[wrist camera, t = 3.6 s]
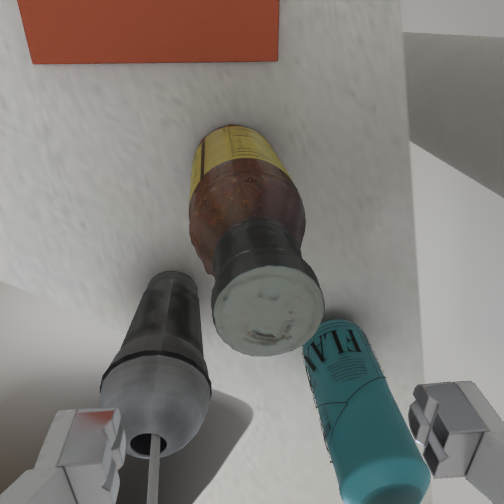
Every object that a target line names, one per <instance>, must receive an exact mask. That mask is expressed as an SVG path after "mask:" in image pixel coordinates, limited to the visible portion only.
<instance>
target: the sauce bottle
mask: <svg viewBox="0 0 504 504" xmlns="http://www.w3.org/2000/svg"><path fill="white" fill-rule="evenodd" d="M189 221H190V224H189V226H190V227H189V233H190V237H191V243H192V245H193V246H194V247H195V250H196V253H197V255H198V256H199V258H200V259H201V260H202V262H203V264H204V267H205V270H206V272H207V273H208V274H210V275H212V276H214V277H215V280H216V282H215V285H214V288H213V290H212V297H211V307H212V317H213V322H214V325H215V327H216V330H217V333H218V334H219V336H220V337H221V338H222V340H223V341H224V342H225V343H226V344H228V345H229V346H230V347H231V348H232V349H234V350H236V351H239V352H241V353H243V354H247V355H250V356H273V355H278V354H282V353H285V352H289V351H293V350H294V349H296V348H298V347H300V346H302V345H304V344H305V343H306V342H307V341H308V340H309V339H310V338H311V337H312V336H313V335H314V334H315V333H316V331H317V330H318V327H319V325H320V323H321V320H322V318H323V315H324V311H325V305H324V298H323V293H322V291H321V288H320V286H319V283H318V280H317V277H316V275H315V273H314V271H313V270H312V268H311V267H310V266H309V265H308V264H307V263H306V262H305V261H304V260H303V259H302V256H301V250H300V248H301V244H302V240H303V236H304V233H305V224H306V221H305V210H304V206H303V202H302V199H301V197H300V195H299V192H298V190H297V188H296V187H295V185H294V183H293V181H292V180H291V178H290V176H289V175H288V173H287V171H286V169H285V168H284V166H283V164H282V163H281V161H280V160H279V158H278V157H277V155H276V154H275V152H274V151H273V149H272V147H271V146H270V144H269V143H268V142H267V140H266V139H265V138H264V137H263V136H262V135H260V134H259V133H257V132H256V131H254V130H253V129H249V128H246V127H241V126H238V125H227V126H225V127H221V128H219V129H217V130H215V131H213V132H211V133H210V134H209V135H207V136H206V137H204V138H203V140H202V141H201V143H200V144H199V147H198V148H197V150H196V153H195V155H194V159H193V163H192V174H191V188H190V200H189Z"/></svg>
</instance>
